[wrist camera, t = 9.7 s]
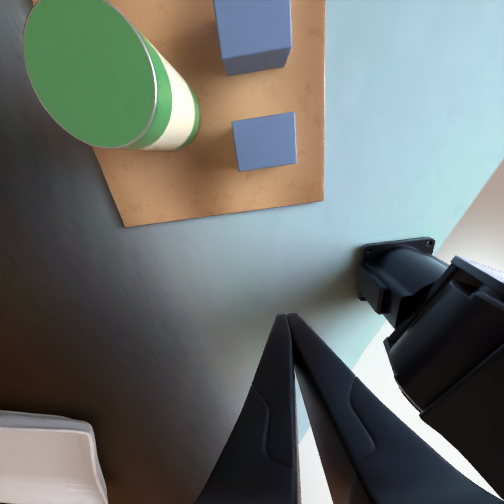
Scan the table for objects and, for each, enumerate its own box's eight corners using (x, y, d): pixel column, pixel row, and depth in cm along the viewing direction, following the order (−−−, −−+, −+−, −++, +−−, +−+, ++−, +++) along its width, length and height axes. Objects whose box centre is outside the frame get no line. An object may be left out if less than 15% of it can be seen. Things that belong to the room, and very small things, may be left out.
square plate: (-26, 471, 41) (-52, 501, 37) (-95, 384, 30) (-141, 415, 26) (117, 484, 43) (105, 513, 40) (105, 407, 32) (87, 438, 28)
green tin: (247, 19, 10) (-29, -88, 5) (259, 134, 13) (74, 147, 7) (168, 81, 17) (7, 63, 11) (185, 151, 19) (56, 164, 13)
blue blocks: (281, 6, 13) (289, -33, 10) (290, 161, 17) (297, 163, 14) (218, 18, 13) (209, -17, 11) (240, 168, 17) (238, 172, 14)
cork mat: (324, -86, 12) (326, -94, 11) (322, 200, 19) (323, 200, 18) (27, -22, 13) (20, -28, 12) (127, 225, 20) (125, 227, 19)
